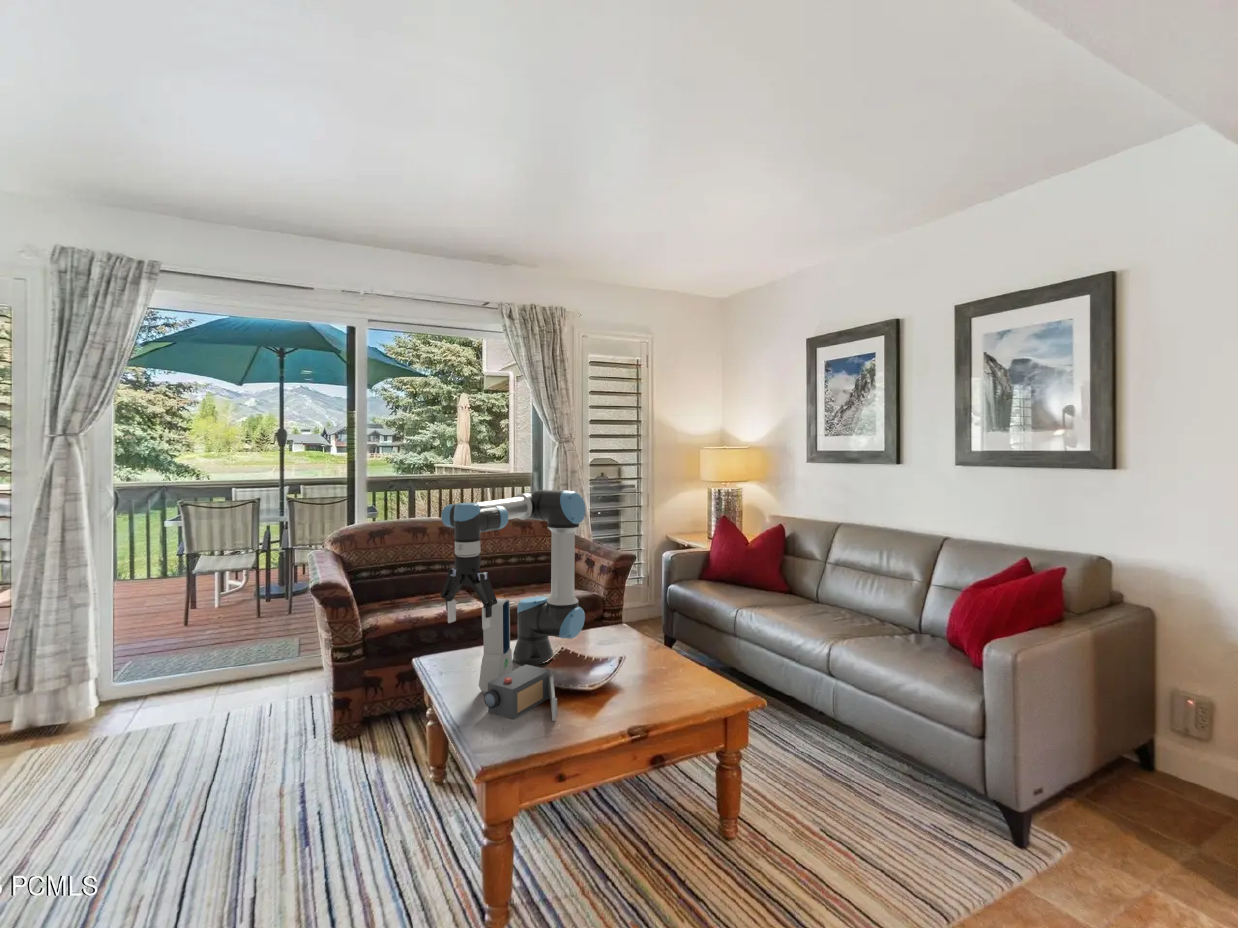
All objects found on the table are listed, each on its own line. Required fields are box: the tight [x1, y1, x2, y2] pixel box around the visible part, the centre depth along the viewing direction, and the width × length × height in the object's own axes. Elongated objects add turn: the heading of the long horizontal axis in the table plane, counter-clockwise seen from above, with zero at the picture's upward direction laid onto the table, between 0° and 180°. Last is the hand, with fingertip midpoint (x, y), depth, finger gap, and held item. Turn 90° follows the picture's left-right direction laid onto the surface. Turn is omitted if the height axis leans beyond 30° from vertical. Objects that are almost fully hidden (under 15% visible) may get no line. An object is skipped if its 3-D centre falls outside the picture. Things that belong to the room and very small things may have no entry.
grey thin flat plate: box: [549, 674, 558, 722], centre depth 188 cm, size 17×2×7 cm, turn 9°
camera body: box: [483, 664, 551, 720], centre depth 190 cm, size 20×10×10 cm, turn 149°
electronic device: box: [478, 598, 513, 694], centre depth 204 cm, size 12×8×30 cm, turn 168°
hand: (468, 624), depth 183 cm, fingers open, 13 cm apart
